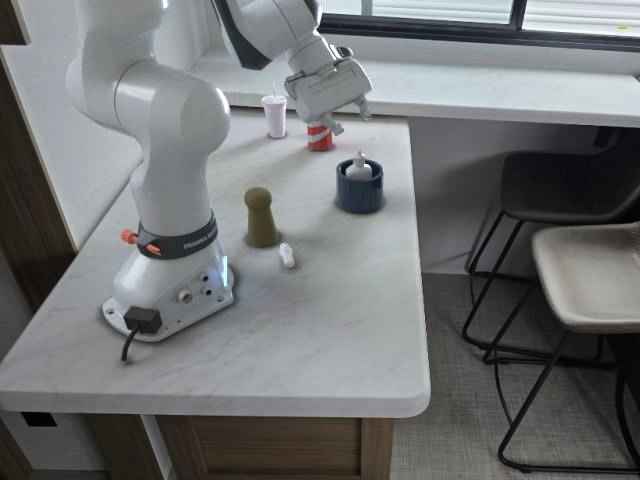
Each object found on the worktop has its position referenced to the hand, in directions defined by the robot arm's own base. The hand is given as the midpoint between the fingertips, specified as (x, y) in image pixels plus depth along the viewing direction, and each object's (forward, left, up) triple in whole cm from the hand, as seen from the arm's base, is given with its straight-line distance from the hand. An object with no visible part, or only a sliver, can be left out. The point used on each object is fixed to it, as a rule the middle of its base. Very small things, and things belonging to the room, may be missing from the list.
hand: (354, 126), depth 114 cm
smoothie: (+14, +36, -18) cm, 42 cm away
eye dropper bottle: (0, -1, -17) cm, 17 cm away
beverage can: (+16, +23, -18) cm, 33 cm away
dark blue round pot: (0, -1, -17) cm, 17 cm away
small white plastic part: (-26, -3, -18) cm, 32 cm away
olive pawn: (-23, +6, -18) cm, 30 cm away
